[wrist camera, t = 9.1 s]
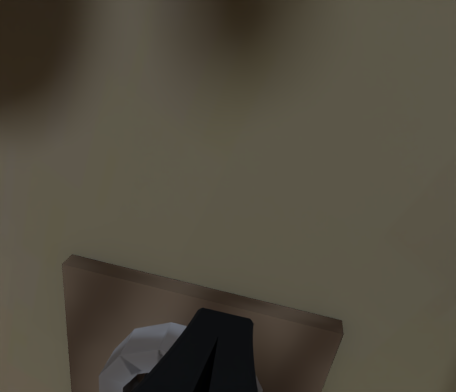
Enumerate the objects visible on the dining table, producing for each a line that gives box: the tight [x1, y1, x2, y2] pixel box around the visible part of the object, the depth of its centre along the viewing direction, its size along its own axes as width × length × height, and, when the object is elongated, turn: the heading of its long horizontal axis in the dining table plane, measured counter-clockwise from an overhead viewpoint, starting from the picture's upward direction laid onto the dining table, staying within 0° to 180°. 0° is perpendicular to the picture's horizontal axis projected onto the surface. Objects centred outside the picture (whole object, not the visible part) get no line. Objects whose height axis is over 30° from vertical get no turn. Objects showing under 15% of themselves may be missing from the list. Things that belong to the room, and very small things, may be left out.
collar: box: [62, 255, 344, 392], centre depth 22 cm, size 16×14×3 cm
